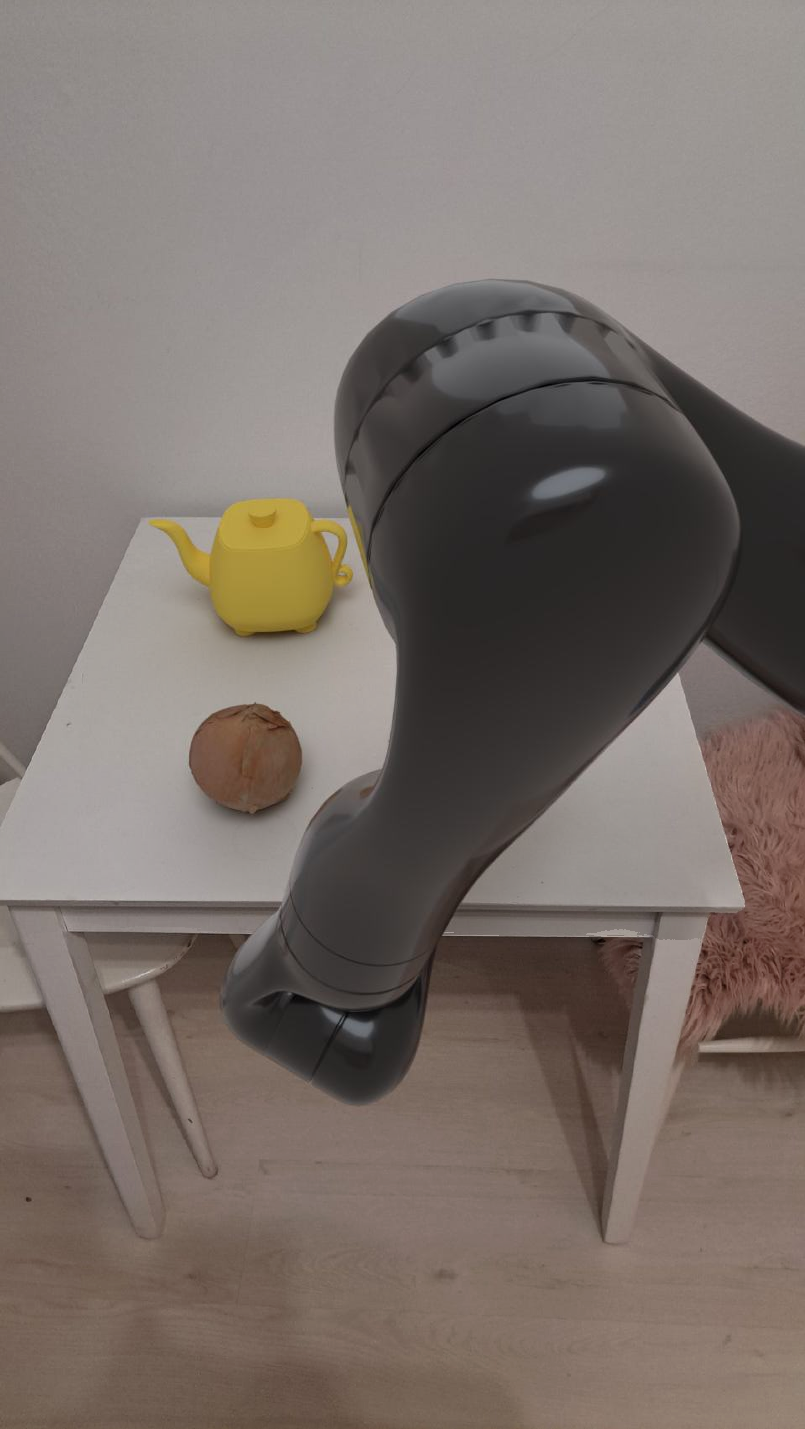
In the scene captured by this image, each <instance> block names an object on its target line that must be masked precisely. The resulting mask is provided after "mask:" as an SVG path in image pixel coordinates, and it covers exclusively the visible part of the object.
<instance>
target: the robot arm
mask: <svg viewBox="0 0 805 1429" xmlns="http://www.w3.org/2000/svg"><path fill="white" fill-rule="evenodd" d="M332 419H333V445H334V446H333V448H334V454H335V462H336V470H337V475H338V478H339V479H338V480H339V483H340V487H341V490H342V495H343V498H344V502H345V506H346V510H347V514H348V518H349V522H350V526H351V528H352V532H353V535H354V538H355V541H356V544H357V548H358V551H359V554H360V555H359V556H360V557H361V561H362V565H363V567H364V571H365V574H366V577H367V581H368V585H369V588H370V590H371V592H372V596H373V600H374V602H375V605H376V608H377V611H378V612H379V615H380V617H381V620H382V622H383V625H384V627H385V629H386V631H387V633H388V634H389V636H390V638H391V639H392V641H393V642H394V645H395V651H396V652H395V655H396V658H395V659H396V677H395V689H394V702H393V710H392V719H391V727H390V732H389V739H388V744H387V751H386V755H385V758H384V762H383V764H382V765H383V766H382V767H381V768H379V769H375V770H373V771H370V772H367V773H365V774H362V775H360V776H357V777H355V778H353V779H352V780H349V781H348V782H347V783H345V784H343V785H342V786H340V787H339V788H338V789H337V790H336V791H334V792H333V793H332V794H331V795H330V796H329V797H328V798H327V799H325V801H324V802H323V803H322V804H321V805H320V807H319V808H318V810H317V811H316V812H315V814H314V815H313V816H312V818H311V819H310V820H309V822H308V824H307V826H306V827H305V830H304V833H303V835H302V837H301V840H300V843H299V845H298V848H297V850H296V853H295V855H294V859H293V863H292V866H291V870H290V873H289V877H288V880H287V884H286V888H285V891H284V894H283V898H282V901H281V903H280V906H279V908H278V909H277V911H275V912H274V913H272V915H271V916H269V917H268V918H266V920H265V921H263V922H262V923H261V924H260V925H259V926H258V927H257V928H256V929H254V931H253V932H252V933H251V934H250V935H249V936H248V938H246V940H245V941H244V943H243V944H242V945H240V947H239V949H238V950H237V951H236V952H235V955H234V956H233V957H232V959H231V960H230V963H229V964H228V965H227V968H226V970H225V972H224V975H223V977H222V981H221V984H220V988H219V995H218V997H219V998H218V1004H219V1010H220V1014H221V1017H222V1020H223V1022H224V1024H225V1025H226V1027H227V1029H228V1030H229V1031H230V1033H231V1034H232V1035H233V1036H234V1037H235V1038H236V1039H237V1040H238V1041H239V1042H240V1043H242V1044H243V1045H245V1046H246V1047H248V1048H249V1049H251V1050H253V1051H255V1052H256V1053H257V1054H259V1055H261V1056H263V1057H265V1058H267V1059H268V1060H270V1061H272V1062H273V1063H275V1064H277V1065H278V1066H280V1067H281V1068H283V1069H285V1070H286V1071H288V1072H289V1073H292V1074H293V1075H295V1076H296V1077H298V1078H300V1079H301V1080H303V1081H304V1082H306V1083H311V1085H312V1086H313V1087H314V1088H316V1089H317V1090H319V1091H321V1092H323V1093H324V1094H326V1095H328V1096H329V1097H331V1098H333V1099H335V1100H336V1101H338V1102H340V1103H343V1104H345V1105H347V1106H351V1107H364V1106H369V1105H372V1104H374V1103H377V1102H379V1101H381V1100H383V1099H384V1098H386V1097H387V1096H388V1095H390V1094H391V1093H392V1092H394V1091H395V1089H397V1088H398V1086H400V1084H401V1083H402V1081H403V1080H404V1079H405V1078H406V1076H407V1074H408V1073H409V1071H410V1069H411V1067H412V1065H413V1063H414V1061H415V1058H416V1055H417V1053H418V1049H419V1046H420V1042H421V1038H422V1033H423V1030H424V1025H425V1019H426V1013H427V1012H426V1011H427V1006H428V998H429V991H430V983H431V977H432V972H433V966H434V961H435V957H436V953H437V950H438V949H437V948H438V946H439V942H440V940H441V939H442V937H443V936H444V933H445V932H446V930H447V928H448V927H449V925H450V922H451V921H452V919H453V917H454V915H455V914H456V912H457V910H458V909H459V907H460V906H461V905H462V903H463V901H464V899H465V897H466V896H467V895H468V893H469V892H470V891H471V890H472V888H473V887H474V885H475V884H476V883H477V882H478V881H479V879H480V878H481V877H482V876H483V874H485V873H486V871H487V870H488V869H489V868H490V867H491V866H492V865H493V864H494V863H495V862H496V861H497V860H498V859H499V857H500V856H502V855H503V854H504V852H505V851H506V850H508V849H509V848H510V847H511V846H512V845H513V844H514V843H515V842H516V841H517V840H519V838H520V837H521V836H522V835H523V834H524V833H525V832H527V830H529V829H530V828H531V827H532V826H533V825H534V824H535V823H537V821H538V820H539V819H540V818H541V817H542V816H543V815H544V814H545V813H546V812H547V811H549V809H550V808H551V807H552V806H553V805H554V804H555V803H556V802H557V801H558V800H559V799H560V798H561V797H562V796H563V795H564V794H565V793H566V792H567V790H569V788H571V786H572V785H574V783H575V782H576V781H577V780H578V779H579V778H580V777H581V776H582V775H583V774H584V773H585V771H587V770H588V769H589V768H590V766H591V765H593V763H595V761H596V760H598V759H599V757H600V756H601V755H602V754H603V753H605V751H606V750H607V749H608V748H609V747H610V746H611V745H613V743H614V742H615V741H616V740H617V739H618V738H619V737H620V736H621V735H622V734H623V733H624V732H625V731H626V729H627V728H629V727H630V726H631V724H633V723H634V722H635V720H636V719H637V718H638V717H639V716H640V715H641V714H642V713H643V712H644V711H645V710H646V709H647V708H648V707H649V706H650V705H651V704H652V703H653V702H654V701H655V699H656V698H657V697H658V696H659V695H660V694H661V693H662V691H664V689H665V688H666V687H667V686H668V685H669V684H670V682H671V681H673V679H674V678H675V677H676V676H677V675H678V673H679V672H680V671H681V670H682V669H683V667H684V666H685V665H686V663H687V662H688V661H689V660H690V658H691V657H692V656H693V654H695V652H696V651H697V649H698V647H699V646H700V645H701V644H704V645H705V646H706V647H707V648H709V649H710V650H711V651H712V652H714V653H715V654H716V655H717V656H718V657H720V658H721V659H722V660H723V661H725V662H726V663H727V664H728V665H730V666H731V667H732V668H733V669H734V670H736V671H737V672H738V673H739V674H741V675H742V676H743V677H745V678H746V679H747V680H749V682H751V683H753V684H754V685H756V686H757V687H758V688H760V689H761V690H762V691H764V693H766V694H768V695H769V696H770V697H772V698H773V699H775V700H776V701H778V702H779V703H780V704H781V705H782V706H785V707H786V708H788V710H790V711H792V712H793V713H795V714H796V715H797V716H799V717H801V718H802V719H804V720H805V444H802V443H800V442H799V441H796V440H793V439H791V438H789V437H787V436H784V435H782V434H781V433H779V432H777V431H776V430H774V429H772V428H770V427H768V426H766V425H764V424H763V423H761V422H759V421H758V420H757V419H755V418H753V417H752V416H750V415H748V414H747V413H745V411H742V410H741V409H739V408H738V407H736V406H735V405H733V404H732V403H731V402H729V401H728V400H726V399H725V398H723V397H722V396H720V395H719V394H718V393H716V392H715V391H713V390H712V389H710V388H709V387H707V386H706V385H705V384H704V383H702V382H701V381H699V380H697V379H696V378H694V377H693V376H692V375H690V374H689V373H688V372H686V371H685V370H684V369H681V368H680V367H679V366H677V365H676V364H675V363H673V362H672V361H671V360H669V359H668V358H666V357H665V356H664V355H662V354H661V353H660V352H658V351H657V350H656V349H655V348H653V347H652V346H651V345H649V344H648V343H647V342H645V341H644V340H643V339H642V338H640V337H639V336H637V335H636V334H635V333H634V332H632V331H631V330H630V329H628V328H627V327H626V326H624V325H623V324H622V323H620V322H619V321H618V320H616V319H615V318H614V317H613V316H611V315H610V314H609V313H607V312H606V311H604V310H603V309H602V308H601V307H599V306H597V305H596V304H594V303H592V301H589V300H588V299H586V298H584V297H582V296H580V295H577V294H576V293H573V292H571V291H570V290H569V291H568V290H566V289H564V288H561V287H558V286H557V287H556V286H554V285H553V286H552V285H549V284H544V283H541V282H536V281H532V280H529V279H507V278H506V279H504V278H485V279H478V280H471V281H463V282H457V283H452V284H450V285H447V286H444V287H441V288H438V289H435V290H432V291H428V292H425V293H422V294H420V295H418V296H417V297H415V298H413V299H411V300H409V301H407V302H406V303H404V304H403V305H401V306H399V307H398V308H397V307H396V308H395V309H394V310H391V311H390V312H389V313H388V314H387V315H386V316H385V317H383V319H382V320H380V321H379V322H378V323H377V324H376V325H375V326H373V327H372V329H370V330H369V331H368V332H367V333H366V334H365V336H364V337H363V339H362V340H361V341H360V343H359V344H358V345H357V347H356V348H355V350H354V351H353V352H352V354H351V356H349V359H348V360H347V362H346V365H345V367H344V369H343V371H342V374H341V378H340V380H339V383H338V387H337V390H336V395H335V399H334V408H333V418H332Z"/></svg>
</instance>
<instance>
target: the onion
mask: <svg viewBox="0 0 805 1429" xmlns="http://www.w3.org/2000/svg"><path fill="white" fill-rule="evenodd" d="M302 764H303V750H302V746H301V742H300V739H299V737H298V735H297V732H296V731H295V728H294V727H293V726H292V723H291V721H288V720H287V719H286V718H285V717H284V716H283V715H282V714H281V712H280V711H278V710H273V709H271V707H269V706H268V705H265V704H263V703H257V702H256V701H254V702H253V703H251V704H250V703H248V704H247V703H243V704H238V705H233V706H229V707H226V708H222V709H220V710H218V711H214V712H213V713H211V714H210V715H209V716H208V717H206V718H205V719H204V720H203V721H202V722H201V723H200V724H199V725H198V727H197V729H196V730H195V732H194V734H193V736H192V739H191V742H190V746H189V752H188V766H189V769H190V773H191V775H192V777H193V779H194V781H195V783H196V785H197V786H198V787H199V788H200V790H201V791H202V792H203V793H204V794H205V795H206V796H207V797H209V798H210V799H211V800H213V801H214V802H215V803H216V805H217V804H219V805H221V806H223V807H226V808H228V809H232V810H234V811H236V812H237V811H240V812H241V813H242V814H245V813H248V812H249V814H251V815H254V814H255V813H256V811H259V810H262V809H265V808H268V807H270V806H272V805H278V804H279V803H281V802H283V801H284V800H287V799H288V798H289V797H290V796H291V792H292V791H293V788H294V786H295V783H296V782H297V780H298V778H299V776H300V773H301V770H302Z"/></svg>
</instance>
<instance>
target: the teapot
mask: <svg viewBox="0 0 805 1429" xmlns="http://www.w3.org/2000/svg"><path fill="white" fill-rule="evenodd" d="M147 524H148V525H150V526H151V527H153V528H156V529H158V530H160V531H162V532H164V533H165V534H166V535H167V536H168V537H169V538H170V539H171V540H172V542H173V544H174V546H175V548H176V550H177V552H178V555H179V557H180V560H181V563H182V565H183V567H184V568H185V570H186V572H187V574H189V576H191V578H192V579H193V580H195V581H196V582H198V583H199V584H200V585H203V586H205V587H208V588H209V595H210V599H211V603H212V605H213V608H214V610H215V612H216V613H217V615H218V616H219V617H220V619H221V620H222V621H223V622H224V623H225V624H227V626H229V627H231V628H233V629H234V630H233V631H234V633H235V634H236V635H238V636H241V637H248V636H249V637H250V636H252V635H254V634H256V633H269V632H270V633H271V632H282V631H283V632H284V631H285V632H286V631H292V630H293V631H296V632H297V633H299V634H300V633H301V634H307V633H310V632H312V631H314V630H315V629H316V628H317V626H318V623H317V621H318V620H319V619H320V617H321V616H322V615H323V613H324V612H325V610H326V608H327V606H328V604H329V602H330V601H331V598H332V596H333V593H334V587H335V586H336V587H346V586H347V585H349V584H351V582H352V581H353V578H354V572H353V569H352V568H351V566H349V565H347V564H342V562H343V560H344V558H345V555H346V552H347V548H348V535H347V532H346V530H345V528H344V527H343V526H342V525H341V524H339V523H338V522H335V521H334V520H331V519H325V518H324V519H323V518H322V519H317V520H315V519H314V516H312V514H311V512H310V511H309V510H308V508H307V507H306V505H305V504H304V503H303V502H301V501H299V500H298V499H295V498H286V497H285V498H283V497H282V498H280V497H278V498H277V497H276V498H256V499H246V500H241V501H237V502H235V503H233V504H230V506H229V507H228V508H227V509H226V510H225V511H224V513H223V514H222V517H221V518H220V521H219V524H218V526H217V529H216V533H215V536H214V539H213V542H212V546H211V551H210V553H207V552H205V551H203V550H201V549H199V548H198V547H197V546H195V544H194V543H193V541H192V540H191V538H190V536H189V535H188V533H187V531H186V529H184V528H183V526H182V525H180V524H178V523H177V522H175V521H172V520H168V519H159V518H158V519H151V520H149V521H148V522H147ZM323 532H324V533H330V534H333V535H334V536H336V537H337V539H338V544H337V549H336V552H335V554H334V558H333V560H332V555H331V552H330V549H329V547H328V544H327V541H326V539H325V537H324V535H323ZM339 573H344V574H343V575H340V574H339Z"/></svg>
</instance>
